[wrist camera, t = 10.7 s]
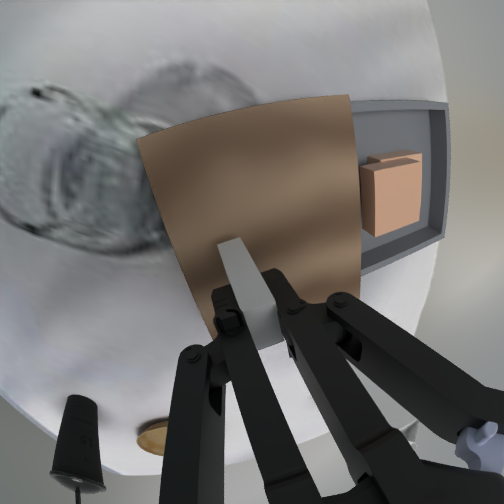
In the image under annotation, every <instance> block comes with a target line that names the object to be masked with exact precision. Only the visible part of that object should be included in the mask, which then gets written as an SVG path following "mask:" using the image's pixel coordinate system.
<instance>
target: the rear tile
mask: <svg viewBox="0 0 504 504" xmlns="http://www.w3.org/2000/svg"><path fill="white" fill-rule="evenodd" d="M405 157H407V158H411V159H414V160H417V161H420V162H421V189H422V153H419V152H415V151H412V150H402V151H395V152H389V153H382V154H376V155H370V156H367V160H368V164H373V163H378V162H383V161H388V160H394V159H400V158H405ZM420 207H421V199H420Z"/></svg>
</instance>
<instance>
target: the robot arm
mask: <svg viewBox="0 0 504 504" xmlns="http://www.w3.org/2000/svg"><path fill="white" fill-rule="evenodd" d="M217 246H218V249H219V252H220V255H221V258H222V261H223V264H224V267H225V270H226V273H227V276H228V279H229V282H230V284H228V285H225V286H222V287H219V288H216V289H213V291H212V294H211V299H212V303H213V307H214V311H215V316H214V318H213V324H214V326H215V328H216V330H217V332H218V335H217V337H216V338H215V339H214V340H213V341H212V342H211V343H209V344H208V345H206V346H202V345H197V344H194V345H191V346H188V347H186V348H185V349H184V350H183V351H182V352H181V353H180V356H179V359H178V365H177V370H176V376H175V382H174V388H173V394H172V400H171V406H170V413H169V420H168V427H167V434H166V441H165V449H164V457H163V466H162V475H161V486H160V496H159V504H224V438H225V394H226V383H228V382H229V381H231V382H232V385H233V388H234V392H235V395H236V399H237V402H238V405H239V409H240V412H241V415H242V418H243V422H244V425H245V428H246V431H247V434H248V437H249V440H250V443H251V446H252V449H253V452H254V455H255V458H256V461H257V464H258V467H259V470H260V472H261V475H262V478H263V481H264V489H265V493H266V496H267V499H268V502H269V504H504V477H503V476H502V475H501V472H502V469H503V466H504V391H500V390H497V389H493V388H489V387H485V386H483V385H482V384H481V383H479V382H478V381H477V380H475V379H474V378H472V377H471V376H470V375H468V374H467V373H465V372H464V371H462V370H461V369H460V368H458V367H457V366H456V365H454V364H453V363H451V362H450V361H448V360H447V359H446V358H444V357H443V356H441V355H440V354H439V353H437V352H436V351H434V350H433V349H431V348H430V347H428V346H427V345H425V344H424V343H422V342H421V341H420V340H418V339H417V338H415V337H414V336H412V335H411V334H410V333H408V332H407V331H405V330H404V329H402V328H401V327H399V326H398V325H396V324H395V323H393V322H392V321H390V320H389V319H387V318H386V317H384V316H383V315H382V314H380V313H379V312H377V311H376V310H374V309H373V308H371V307H370V306H368V305H367V304H365V303H364V302H362V301H361V300H359V299H358V298H356V297H355V296H353V295H352V294H350V293H347V292H335V293H333V294H331V295H330V296H329V297H328V298H327V300H326V302H324V303H317V304H311V303H307V302H306V301H305V300H303V299H300V298H299V296H298V295H297V293H296V292H295V290H294V289H293V287H292V286H291V285H290V283H289V282H288V280H287V279H286V278H285V276H284V274H283V273H282V271H280V270H278V269H276V268H272V269H270V270H267V271H264V272H261V273H260V272H259V270H258V268H257V267H256V265H255V263H254V261H253V259H252V258H251V256H250V254H249V252H248V250H247V249H246V247H245V245H244V243H243V241H242V240H241V238H240V237H238V238H235V239H232V240H229V241H226V242H223V243H220V244H217ZM283 336H284V337H283ZM284 338H285V340H286V342H287V347H288V352H289V356H290V358H291V357H292V358H293V360H294V362H295V364H296V366H297V368H298V370H299V372H300V374H301V376H302V378H303V380H304V382H305V384H306V386H307V388H308V390H309V391H310V393H311V395H312V397H313V399H314V401H315V403H316V405H317V407H318V409H319V411H320V413H321V415H322V417H323V419H324V421H325V423H326V425H327V426H328V428H329V430H330V432H331V434H332V436H333V438H334V440H335V442H336V444H337V446H338V448H339V450H340V451H341V453H342V455H343V457H344V459H345V461H346V463H347V466H348V470H349V473H350V475H351V477H352V479H353V481H354V482H355V484H356V486H355V487H354V488H352V489H351V490H350V491H348V492H346V493H342V494H337V495H332V496H327V497H322V498H321V496H320V493H319V492H318V490H317V487H316V485H315V483H314V481H313V479H312V477H311V474H310V472H309V471H308V469H307V467H306V464H305V462H304V460H303V458H302V456H301V453H300V451H299V449H298V447H297V444H296V442H295V440H294V437H293V435H292V433H291V431H290V428H289V426H288V424H287V421H286V419H285V417H284V414H283V412H282V410H281V407H280V405H279V402H278V400H277V398H276V395H275V393H274V390H273V388H272V386H271V383H270V381H269V378H268V376H267V373H266V371H265V368H264V366H263V364H262V361H261V359H260V356H259V354H258V350H261V349H264V348H266V347H269V346H272V345H275V344H277V343H280V342H283V341H284ZM346 359H347V360H348V361H349V362H350V363H351V364H353V365H354V366H355V367H356V368H357V369H358V370H360V371H361V372H362V373H363V374H364V375H365V376H367V377H368V378H369V379H370V380H371V381H372V382H374V383H375V384H376V385H377V386H378V387H379V388H381V389H382V390H383V391H384V392H385V393H387V394H388V395H389V396H390V397H391V398H392V399H394V400H395V401H396V402H397V403H398V404H400V405H401V406H402V407H403V408H404V409H406V410H407V411H408V412H409V413H410V414H412V415H413V416H414V417H415V418H416V419H418V420H419V421H420V422H421V423H423V424H424V425H425V426H426V427H427V428H429V429H430V430H431V431H432V432H433V433H435V434H436V435H438V436H439V437H441V438H442V439H444V440H446V441H448V442H450V443H453V444H456V450H455V455H456V456H457V457H459V458H461V459H462V460H464V461H465V462H466V463H467V464H468V467H469V469H466V468H460V467H455V466H449V465H444V464H440V463H436V462H431V461H427V460H422V459H419V457H418V456H417V454H416V453H415V451H414V450H413V448H412V447H411V445H410V443H409V442H408V440H407V439H406V437H405V436H404V435H403V433H402V432H401V431H400V430H399V429H397V428H394V427H392V426H390V424H389V423H388V422H387V420H386V419H385V417H384V416H383V414H382V412H381V411H380V409H379V408H378V406H377V405H376V403H375V402H374V400H373V399H372V397H371V396H370V394H369V393H368V391H367V390H366V388H365V387H364V385H363V384H362V382H361V381H360V379H359V378H358V376H357V375H356V373H355V372H354V370H353V369H352V367H351V366H350V364H349V363H348V361H347V360H346Z"/></svg>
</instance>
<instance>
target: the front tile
mask: <svg viewBox="0 0 504 504" xmlns="http://www.w3.org/2000/svg"><path fill="white" fill-rule="evenodd" d="M360 179H361V200H362V229H363V230H365V231H366V232H368V233H369V234H371V235H372V236H374V237H377V236H380V235H383V234H386V233H388V232H391V231H394V230H396V229H399V228H401V227H404V226H407V225H409V224H412V223H415V222H417V221H419V214H420V199H421V162H420V161H417V160H414V159H411V158H407V157H405V158H400V159H394V160H388V161H383V162H378V163H373V164H368V165H363V166H360Z"/></svg>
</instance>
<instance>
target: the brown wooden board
mask: <svg viewBox="0 0 504 504" xmlns="http://www.w3.org/2000/svg"><path fill="white" fill-rule="evenodd" d="M136 142H137V145H138V148H139V152H140V155H141V158H142V161H143V164H144V168H145V171H146V174H147V177H148V180H149V183H150V186H151V189H152V192H153V195H154V198H155V200H156V203H157V206H158V209H159V212H160V215H161V217H162V220H163V223H164V225H165V228H166V231H167V233H168V236H169V239H170V241H171V244H172V246H173V249H174V252H175V254H176V257H177V259H178V262H179V264H180V267H181V269H182V271H183V274H184V276H185V279H186V281H187V283H188V286H189V288H190V290H191V293H192V295H193V297H194V300H195V302H196V304H197V306H198V309H199V311H200V313H201V315H202V318H203V320H204V322H205V324H206V326H207V328H208V331H209V333H210V335H211V337H212V339H213V340H214V339H215V338H216V337H217V335H218V332H217V330H216V328H215V326H214V324H213V318H214V316H215V311H214V307H213V303H212V299H211V294H212V291H213V289H216V288H219V287H222V286H225V285H228V284H230V282H229V279H228V276H227V273H226V270H225V267H224V264H223V261H222V258H221V255H220V252H219V249H218V246H217V244H220V243H223V242H226V241H229V240H232V239H235V238H238V237H240V238H241V240H242V241H243V243H244V245H245V247H246V249H247V250H248V252H249V254H250V256H251V258H252V259H253V261H254V263H255V265H256V267H257V268H258V270H259V272H260V273H261V272H264V271H267V270H270V269H272V268H276V269H278V270H280V271H282V273H283V274H284V276H285V278H286V279H287V280H288V282H289V283H290V285H291V286H292V287H293V289H294V290H295V292H296V293H297V295H298V296H299V298H300V299H303V300H305V301H306V302H307V303H311V304H317V303H324V302H326V300H327V298H328V297H329V296H330V295H331V294H333V293H335V292H347V293H350V294H352V295H353V296H355V297H356V298H358V299H359V298H360V281H361V207H360V187H359V173H358V161H357V150H356V141H355V133H354V125H353V118H352V111H351V104H350V98H349V95H333V96H321V97H311V98H303V99H295V100H288V101H281V102H275V103H269V104H263V105H257V106H252V107H247V108H242V109H238V110H233V111H229V112H224V113H220V114H216V115H212V116H208V117H204V118H201V119H197V120H193V121H190V122H187V123H183V124H180V125H177V126H173V127H170V128H167V129H164V130H161V131H158V132H155V133H152V134H149V135H146V136H144V137H141V138H138V139H136Z"/></svg>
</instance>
